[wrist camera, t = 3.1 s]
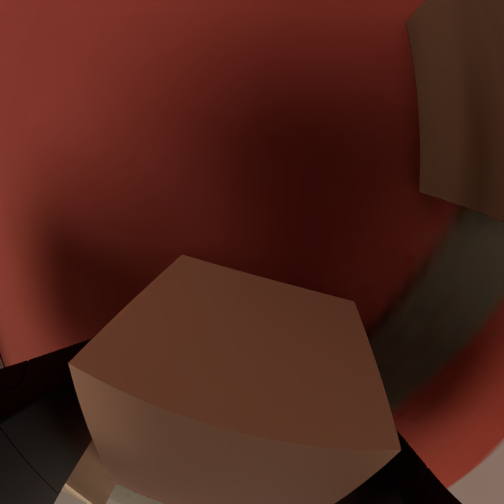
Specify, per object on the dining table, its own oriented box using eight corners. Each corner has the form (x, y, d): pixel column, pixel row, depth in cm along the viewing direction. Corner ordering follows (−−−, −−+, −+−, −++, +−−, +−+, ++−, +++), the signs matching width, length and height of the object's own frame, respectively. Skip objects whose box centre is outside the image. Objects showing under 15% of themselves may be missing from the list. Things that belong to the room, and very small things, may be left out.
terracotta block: (353, 299, 8) (401, 449, 3) (298, 410, 9) (290, 529, 5) (183, 253, 8) (68, 363, 3) (169, 375, 10) (111, 481, 5)
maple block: (86, 392, 11) (36, 457, 6) (133, 449, 12) (102, 510, 8) (40, 384, 12) (-2, 431, 8) (82, 437, 14) (51, 484, 9)
